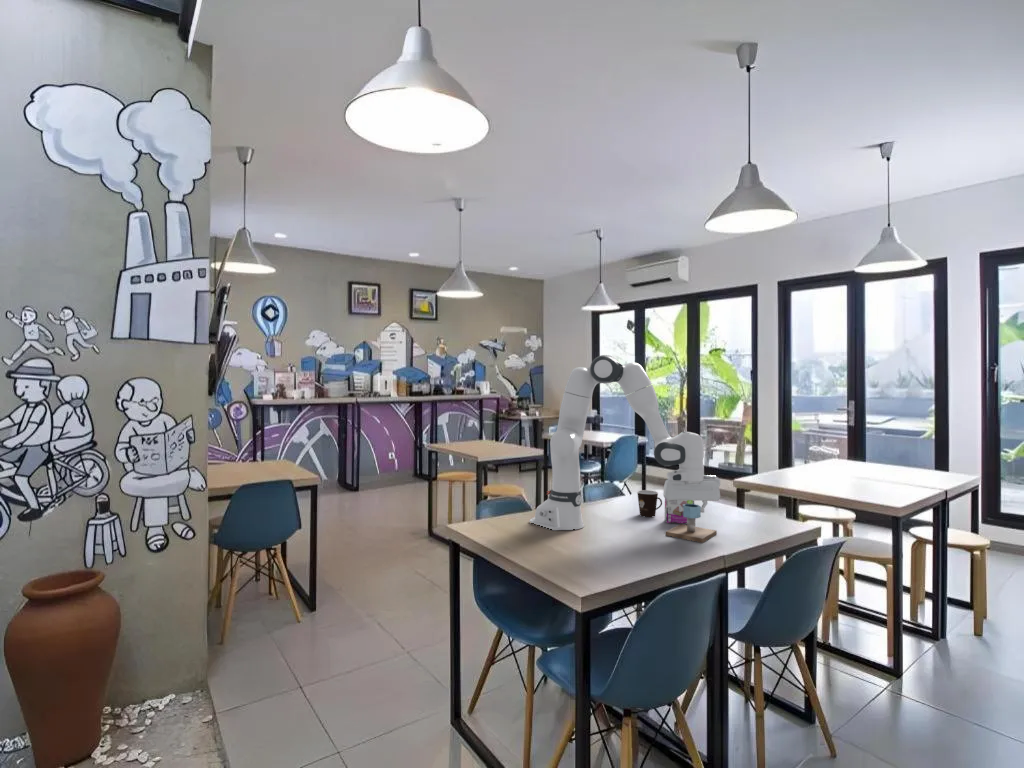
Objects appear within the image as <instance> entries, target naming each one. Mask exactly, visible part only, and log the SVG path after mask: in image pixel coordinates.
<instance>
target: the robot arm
mask: <svg viewBox="0 0 1024 768" xmlns="http://www.w3.org/2000/svg"><path fill="white" fill-rule="evenodd" d="M611 383H617V384H618V385H619V386H620V387H621V390H622V391H623V394H624V395H625V396H624V397H625V398H626V400H627V402H628V404H629V405H630V407H631V409H632V410H633V411H634V412H635V413H636V414H638V415H639V416H640V417H641V418H642V419H643V421H644V422H645V424H646V426H647V428H648V430H649V433H650V435H651V437H652V439H653V440H652V441H653V443H654V447H653V456H654V459H655V461H656V462H657V463H658V464H660V465H661V466H664V467H671V466H677V465H679V466H678V467H679V468H678V469H676V470H672V471H669V472H667V473H666V478H667V479H666V480H665V481H664V486H663V493H662V494H663V497H664V500H665V499H667V500H676V503H677V504H678V506H679V512H684V507H682V506H681V505H680V504H679V503H681V500H694V501H701V502H702V505H701V514H702V513H703V514H704V513H705V509H706V507H707V505H708V502H711V501H712V502H718V501H720V500H721V492H720V486H721V479H720V477H718V476H716V475H708V474H707V475H706V474H705V465H704V458H705V449H704V448H705V447H704V446H705V445H704V439H703V437H702V436H701V435H700V434H698V433H696V432H691V431H681V432H680V433H678V434H677V435H675V436H671V435H670V433H669V432H668V430H667V427H666V425H665V423H664V421H663V419H662V416H661V414H660V410H659V402H658V397H657V393H656V391H655V388H654V385H653V383H652V381H651V379H650V378H649V376H648V374H647V372H646V371H645V369H644V368H643V366H642V365H641V364H639V363H638V362H635V361H634V362H628V363H625V364H622V363H620V362H619V361H618V359H616V358H615V357H614V356H612V355H609V354H608V355H607V354H602V355H598V356H597V357H595V358H594V359H593V360H592V361H591V364H590V366H589V367H585V366H584V367H583V366H578V367H575V368H573V369H572V371H571V372H570V374H569V377H568V379H567V382H566V384H565V388H564V392H563V395H562V400H561V404H560V407H559V415H558V422H557V428H556V431H555V432H554V433H553V434H552V435H551V437H550V443H549V444H550V446H549V447H550V458H551V468H552V469H551V471H552V475H551V477H552V478H551V479H552V485H551V486H552V489H550V490H547V491H546V495H549V496H548V498H547V499H546V500H544V501H542V503H541V504H539V505H538V506H537V507H536V509H535V513H534V517H531V518H530V519H529V522H531V523H534V524H537V525H540V526H539V527H541V526H543V527H542V528H544V527H546V528H545V529H547V528H549V529H548V530H550V529H552V530H551V531H574V530H573V529H575V530H579V529H583V528H584V527H585V524H584V521H583V515H582V507H581V505H582V490H581V466H580V454H579V451H580V449H581V446H582V444H583V443H582V442H583V438H584V434H585V429H586V425H587V423H586V422H587V418H588V415H589V409H590V406H591V403H592V398H593V395H594V394H593V393H594V390H595V387H596V386H597V385H598V384H606V385H607V384H611ZM531 523H530V524H531ZM534 524H533V525H534ZM537 525H536V526H537Z"/></svg>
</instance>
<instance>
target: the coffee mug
mask: <svg viewBox="0 0 1024 768" xmlns="http://www.w3.org/2000/svg"><path fill="white" fill-rule="evenodd" d="M658 495H659V492H658V491H655V490H648V489H644V490H643V489H642V490H637V500H638V509H639V510H638V511H639V516H640V515H641V517H643V516H645V517H644V518H653V517H652V516H655V517H656V513H657V510H658V509H660V508H661V506H662V505H663V500H662V499H661V498H660V497H658ZM658 501H659V503H660V504H659V506H658V507H657V505H658V504H657V503H658Z"/></svg>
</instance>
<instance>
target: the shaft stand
mask: <svg viewBox="0 0 1024 768" xmlns="http://www.w3.org/2000/svg"><path fill="white" fill-rule="evenodd" d="M717 532H718V531H717V529H716V530H714V529H710V528H704V527H700V526H696V518H687V524H684V523H679V524H678V525H676V526H674V527H672V528H670V529H667V530H665V536H666V535H667V536H666V537H670V536H672V538H675V537H677V538H676V539H680V538H682V539H681V540H686V539H687V541H691V540H692V541H691V542H696V541H697V542H696V543H700V544H701V543H702V544H703V543H705V542H706V540H707V541H708V540H710V539H711V537H712V538H713V537H715V536H717V535H716V534H717ZM714 535H715V536H714ZM709 538H710V539H709Z"/></svg>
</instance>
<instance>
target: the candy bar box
mask: <svg viewBox="0 0 1024 768" xmlns="http://www.w3.org/2000/svg"><path fill="white" fill-rule="evenodd" d="M679 504H680V505H681V506H682V507H683V504H695V500H681V503H679ZM664 522H665V523H666V524H685V523H687V517H684V516H683V512H679V506H678V504H677V503H676V500H667V499H665V498H664Z"/></svg>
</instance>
